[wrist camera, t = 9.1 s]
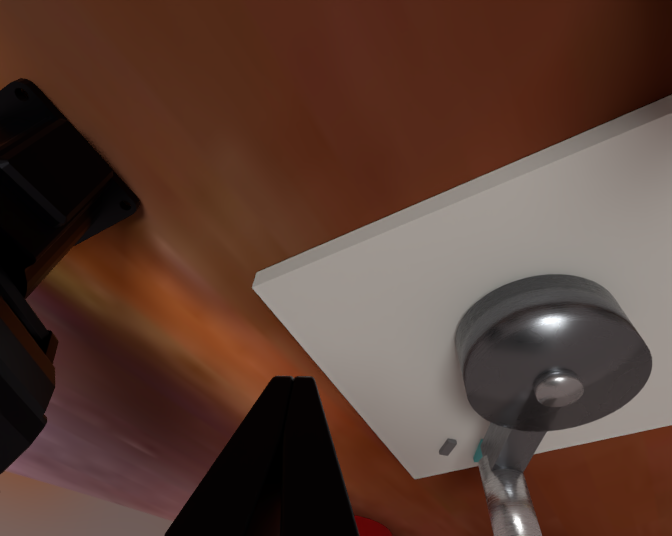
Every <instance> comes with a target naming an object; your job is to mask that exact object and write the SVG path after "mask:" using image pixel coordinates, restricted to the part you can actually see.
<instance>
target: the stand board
mask: <svg viewBox="0 0 672 536" xmlns="http://www.w3.org/2000/svg"><path fill="white" fill-rule="evenodd" d="M547 274H565V275H574V276H578V277H583V278H586V279H589V280H591V281H594V282H596V283H598V284H600V285H601V286H603V287H604V288H605V289H607V290H608V291H609V292H610V293H611V294H612V295H613V297H614V298H615V299H616V301H617V302H618V304H619V305H620V307H621V308H622V310H623V311H624V313H625V314H626V316H627V317H628V318H629V320H630V321H631V323H632V324H633V326H634V327H635V329H636V330H637V332H638V333H639V335H640V336H641V337H642V339H643V340H644V342H645V343H646V345H647V347H648V348H649V350H650V353H651V356H652V370H651V374H650V376H649V379H648V381H647V382H646V384H645V386H644V387H643V388H642V390H641V391H640V392H639V393H638V394H637V395H636V396H635V397H634V398H633V399H632V400H631V401H630V402H628V403H627V404H626V405H624V406H623V407H621V408H620V409H618V410H616V411H615V412H613V413H611V414H609V415H607V416H605V417H603V418H601V419H598V420H596V421H593V422H590V423H587V424H584V425H581V426H577V427H573V428H568V429H563V430H555V431H547V432H546V434H545V436H544V437H543V439H542V441H541V443H540V444H539V446H538V448H537V449H536V451H535V453H534V454H537V453H542V452H546V451H551V450H556V449H560V448H565V447H570V446H575V445H579V444H584V443H589V442H594V441H598V440H603V439H608V438H612V437H617V436H622V435H627V434H631V433H636V432H641V431H646V430H650V429H655V428H660V427H664V426H669V425H672V95H670V96H667V97H665V98H663V99H660V100H658V101H656V102H653V103H651V104H649V105H646V106H644V107H642V108H639V109H637V110H635V111H632V112H630V113H628V114H625V115H623V116H621V117H618V118H616V119H614V120H611V121H609V122H607V123H604V124H602V125H600V126H597V127H595V128H593V129H590V130H588V131H586V132H583V133H581V134H579V135H576V136H574V137H572V138H569V139H567V140H565V141H562V142H560V143H558V144H555V145H553V146H551V147H548V148H546V149H544V150H541V151H539V152H537V153H534V154H532V155H530V156H527V157H525V158H523V159H520V160H518V161H516V162H513V163H511V164H509V165H506V166H504V167H502V168H499V169H497V170H495V171H492V172H490V173H488V174H485V175H483V176H481V177H478V178H476V179H474V180H471V181H469V182H467V183H464V184H462V185H460V186H457V187H455V188H453V189H450V190H448V191H446V192H443V193H441V194H439V195H436V196H434V197H432V198H429V199H427V200H425V201H422V202H420V203H418V204H415V205H413V206H411V207H408V208H406V209H404V210H401V211H399V212H397V213H394V214H392V215H390V216H387V217H385V218H383V219H380V220H378V221H376V222H373V223H371V224H369V225H366V226H364V227H362V228H359V229H357V230H355V231H352V232H350V233H348V234H345V235H343V236H341V237H338V238H336V239H334V240H331V241H329V242H327V243H324V244H322V245H320V246H317V247H315V248H313V249H310V250H308V251H306V252H303V253H301V254H299V255H296V256H294V257H292V258H289V259H287V260H285V261H282V262H280V263H278V264H275V265H273V266H271V267H268V268H266V269H264V270H261V271H259V272H257V273H256V276H255V279H254V283H253V286H252V288H253V289H254V291H255V292H256V293H257V294H258V295H259V296H260V298H261V299H262V300H263V301H264V302H265V304H266V305H267V306H268V307H269V308H270V309H271V311H272V312H273V313H274V314H275V315H276V317H277V318H278V319H279V320H280V321H281V322H282V324H283V325H284V326H285V327H286V328H287V329H288V331H289V332H290V333H291V334H292V335H293V337H294V338H295V339H296V340H297V341H298V342H299V344H300V345H301V346H302V347H303V348H304V350H305V351H306V352H307V353H308V354H309V355H310V357H311V358H312V359H313V360H314V361H315V363H316V364H317V365H318V366H319V367H320V368H321V370H322V371H323V372H324V373H325V374H326V375H327V377H328V378H329V379H330V380H331V381H332V383H333V384H334V385H335V386H336V387H337V388H338V390H339V391H340V392H341V393H342V394H343V396H344V397H345V398H346V399H347V400H348V401H349V403H350V404H351V405H352V406H353V407H354V409H355V410H356V411H357V412H358V413H359V414H360V416H361V417H362V418H363V419H364V420H365V421H366V423H367V424H368V425H369V426H370V427H371V429H372V430H373V431H374V432H375V433H376V434H377V436H378V437H379V438H380V439H381V440H382V442H383V443H384V444H385V445H386V446H387V447H388V449H389V450H390V451H391V452H392V453H393V455H394V456H395V457H396V458H397V459H398V460H399V462H400V463H401V464H402V465H403V466H404V467H405V469H406V470H407V471H408V472H409V473H410V475H411V476H412V477H413V478H414V479H419V478H423V477H428V476H433V475H438V474H442V473H447V472H452V471H457V470H461V469H466V468H471V467H475V466H479V465H478V462H479V460H480V459H481V458H482V457H483V456H482V452H481V447H480V446H481V443H482V441H483V439H484V437H485V434H486V432H487V430H488V427H489V425H490V423H491V422H489V421H487V420H485V419H484V418H483V417H481V416H480V415H479V414H478V413H477V412H476V411H475V410H474V409H473V408H472V406H471V405H470V403H469V401H468V399H467V394H466V390H465V385H464V381H463V377H462V372H461V368H460V363H459V359H458V355H457V350H456V345H455V337H456V332H457V329H458V326H459V323H460V322H461V320H462V318H463V317H464V315H465V314H466V313H467V311H468V310H469V309H470V308H471V307H472V306H473V305H474V304H475V303H476V302H477V301H479V300H480V299H481V298H482V297H484V296H485V295H487V294H488V293H490V292H492V291H493V290H495V289H497V288H499V287H501V286H503V285H506V284H508V283H511V282H513V281H516V280H520V279H523V278H527V277H532V276H538V275H547Z"/></svg>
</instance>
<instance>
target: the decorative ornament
mask: <svg viewBox="0 0 672 536" xmlns="http://www.w3.org/2000/svg"><path fill="white" fill-rule="evenodd" d="M354 517H355V521H356V524H357V528H358V531H359V535H360V536H392V534H391V532H390V531H389V530H388V529H387V528H386V527H385V526H384V525H382V524H380V523H378V522H376V521H374V520H371V519H368V518H364V517H360V516H354Z"/></svg>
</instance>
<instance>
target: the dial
mask: <svg viewBox="0 0 672 536" xmlns="http://www.w3.org/2000/svg"><path fill="white" fill-rule="evenodd" d="M455 345H456V350H457V355H458V359H459V363H460V368H461V372H462V377H463V381H464V385H465V390H466V394H467V399H468V401H469V403H470V405H471V406H472V408H473V409H474V410H475V411H476V412H477V413H478V414H479V415H480V416H481V417H483V418H484V419H485V420H487V421H489V422H491V423H490V425H489V427H488V430H487V432H486V434H485V437H484V439H483V441H482V443H481V446H480V447H481V452H482V456H483V457H482V458H481V459H480V460H479V462H478V465H479V470H480V474H481V479H482V483H483V488H484V492H485V497H486V502H487V506H488V511H489V515H490V520H491V524H492V529H493V533H494V536H542V534H541V530H540V527H539V524H538V520H537V517H536V514H535V510H534V507H533V504H532V500H531V497H530V494H529V490H528V487H527V484H526V480H525V477H524V473H523V471H524V470H525V468H526V466H527V465H528V463H529V461H530V460H531V458H532V456H533V454H534V453H535V451H536V449H537V448H538V446H539V444H540V443H541V441H542V439H543V437H544V436H545V434H546V432H547V431H555V430H563V429H568V428H573V427H577V426H581V425H584V424H587V423H590V422H593V421H596V420H598V419H601V418H603V417H605V416H607V415H609V414H611V413H613V412H615V411H616V410H618V409H620V408H621V407H623V406H624V405H626V404H627V403H628V402H630V401H631V400H632V399H633V398H634V397H635V396H636V395H637V394H638V393H639V392H640V391H641V390H642V388H643V387H644V386H645V384H646V382H647V381H648V379H649V376H650V374H651V370H652V356H651V353H650V350H649V348H648V347H647V345H646V343H645V342H644V340H643V339H642V337H641V336H640V335H639V333H638V332H637V330H636V329H635V327H634V326H633V324H632V323H631V321H630V320H629V318H628V317H627V316H626V314H625V313H624V311H623V310H622V308H621V307H620V305H619V304H618V302H617V301H616V299H615V298H614V297H613V295H612V294H611V293H610V292H609V291H608V290H607V289H605V288H604V287H603V286H601V285H600V284H598V283H596V282H594V281H591V280H589V279H586V278H583V277H578V276H574V275H565V274H547V275H538V276H532V277H527V278H523V279H520V280H516V281H513V282H511V283H508V284H506V285H503V286H501V287H499V288H497V289H495V290H493V291H492V292H490V293H488V294H487V295H485V296H484V297H482V298H481V299H480V300H479V301H477V302H476V303H475V304H474V305H473V306H472V307H471V308H470V309H469V310H468V311H467V313H466V314H465V315H464V317H463V318H462V320H461V322H460V323H459V326H458V329H457V332H456V337H455Z"/></svg>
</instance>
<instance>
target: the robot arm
mask: <svg viewBox="0 0 672 536" xmlns="http://www.w3.org/2000/svg"><path fill="white" fill-rule="evenodd" d="M21 89H23V90H25V91H26V92H27V94H28V96H29V98H27V97H26V96H24V95H23V93H22V92H21ZM123 200H124V201H127V202H128V203H130V205H131V206H128V205H126V204H125V203H124V201H123ZM139 206H140V202H139V199H138V198H137V196H136V195H135V194H134V193H133V192H132V191H131V190H130V189H129V187H128V186H127V185H126V184H125V183H124V182H123V181H122V180H121V179H120V178H119V176H118V175H117V174H116V173H115V172H114V171H113V170H112V168H111V167H110V166H109V165H108V164H107V163H106V162H105V161H104V160H103V158H102V157H101V156H100V155H99V154H98V153H97V152H96V151H95V150H94V148H93V147H92V146H91V145H90V144H89V143H88V142H87V141H86V140H85V139H84V137H83V136H82V135H81V134H80V133H79V132H78V131H77V130H76V129H75V127H74V126H73V125H72V124H71V123H70V122H69V121H68V120H67V119H66V118H65V117H64V116H63V115H62V113H61V112H60V111H59V110H58V109H57V108H56V107H55V106H54V105H53V104H52V102H51V101H50V100H49V99H48V98H47V97H46V96H45V95H44V94H43V92H42V91H41V90H40V89H39V88H38V87H37V86H36V85H35V84H34V83H33V82H32V81H29V80H27V79H22V78H21V79H18V80H16V81H13V82H11V83H10V84H8V85H7V86H6V87H4V88H3V89H2V90H0V474H1V473H3V472H4V471H5V470H6V469H7V468H8V467H9V466H10V465H11V464H12V463H13V462H14V461H15V460H16V459H17V458H18V457H19V456H20V455H21V454H22V453H23V452H24V451H25V450H27V449H28V448H29V447H30V445H31V444H32V443H33V441H34V440H35V439H36V437H37V436H38V435H39V434H40V432H41V431H42V430H43V428H44V427H45V425H46V423H47V417H46V416H45V415H44V413H45V411H46V409H47V406H48V404H49V401H50V399H51V396H52V394H53V391H54V389H55V368H54V366H53V365H52V364H53V361H54V357H55V353H56V350H57V346H58V340H57V338H56V337H55V335H54V334H53V333H52V331H49V330H47V329H46V328H45V326H44V325H43V324H42V322H41V321H40V319H39V318H38V317H37V315H36V314H35V312H34V311H33V310H32V308H31V307H30V305H29V304H28V303H27V301H26V300H25V299H26V298H27V297H28V296H29V295H30V294H31V293H32V292H33V290H34V289H35V288H36V287H37V286H38V285H39V284H40V283H41V281H42V280H43V279H44V278H45V277H46V276H47V275H48V274H49V273H50V271H51V270H52V269H53V268H54V267H55V266H56V265H57V264H58V262H59V261H60V260H61V259H62V258H63V257H64V256H65V255H66V254H67V252H68V251H69V250H70V249H71V248H72V247H73V246H75V245H77V244H79V243H81V242H82V241H84V240H86V239H88V238H90V237H92V236H93V235H95V234H97V233H99V232H101V231H103V230H105V229H106V228H108V227H110V226H112V225H114V224H116V223H118V222H119V221H121V220H123V219H125V218H127V217H129V216H130V215H132V214H134V213H135V212H136V211H137V209H138V208H139ZM165 536H360V535H359V531H358V528H357V524H356V521H355V517H354V514H353V510H352V507H351V504H350V500H349V497H348V493H347V490H346V486H345V483H344V479H343V476H342V472H341V469H340V465H339V462H338V458H337V455H336V451H335V448H334V444H333V441H332V438H331V434H330V431H329V427H328V424H327V420H326V417H325V413H324V410H323V406H322V403H321V399H320V396H319V392H318V389H317V385H316V382H315V379H314V378H313V377H310V376H297V377H295V378H293V377H292V376H275V377H273V378H272V379H271V381H270V382H269V383H268V385H267V386H266V388H265V389H264V391H263V392H262V394H261V395H260V397H259V398H258V399H257V401H256V402H255V404H254V405H253V407H252V408H251V410H250V411H249V413H248V414H247V415H246V417H245V418H244V420H243V421H242V423H241V424H240V426H239V427H238V429H237V430H236V431H235V433H234V434H233V436H232V437H231V439H230V440H229V442H228V443H227V444H226V446H225V447H224V449H223V450H222V452H221V453H220V455H219V456H218V458H217V459H216V460H215V462H214V463H213V465H212V466H211V468H210V469H209V471H208V472H207V474H206V475H205V476H204V478H203V479H202V481H201V482H200V484H199V485H198V487H197V488H196V490H195V491H194V492H193V494H192V495H191V497H190V498H189V500H188V501H187V503H186V504H185V505H184V507H183V508H182V510H181V511H180V513H179V514H178V516H177V517H176V519H175V520H174V521H173V523H172V524H171V526H170V527H169V529H168V530H167V532H166V533H165Z"/></svg>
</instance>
